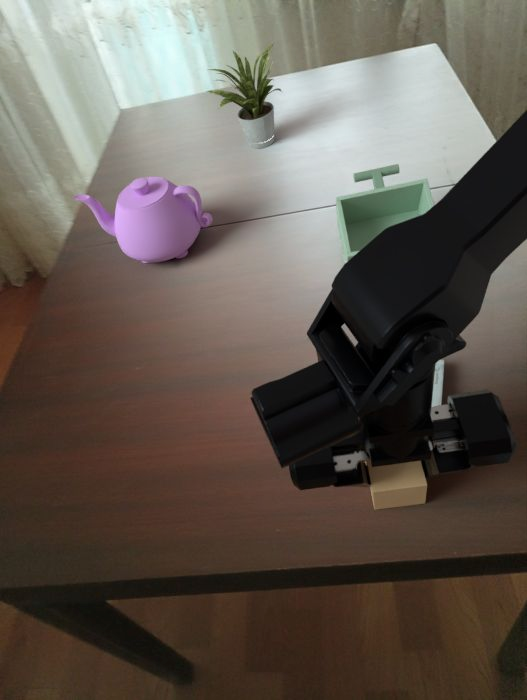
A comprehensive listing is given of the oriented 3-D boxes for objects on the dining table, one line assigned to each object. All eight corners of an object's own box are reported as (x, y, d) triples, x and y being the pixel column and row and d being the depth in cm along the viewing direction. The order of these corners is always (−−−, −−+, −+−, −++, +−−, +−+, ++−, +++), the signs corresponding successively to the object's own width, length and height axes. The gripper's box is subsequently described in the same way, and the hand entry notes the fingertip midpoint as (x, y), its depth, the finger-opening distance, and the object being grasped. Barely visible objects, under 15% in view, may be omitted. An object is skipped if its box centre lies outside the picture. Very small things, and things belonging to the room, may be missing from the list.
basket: (333, 203, 74) (331, 174, 67) (415, 186, 72) (421, 155, 66) (347, 279, 70) (347, 257, 64) (434, 263, 69) (443, 238, 62)
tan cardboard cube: (413, 457, 52) (414, 436, 49) (425, 503, 49) (427, 485, 46) (365, 464, 53) (363, 444, 49) (374, 510, 50) (372, 492, 46)
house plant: (257, 115, 106) (238, 31, 94) (311, 123, 99) (298, 33, 87) (216, 151, 100) (190, 66, 88) (270, 162, 93) (251, 72, 81)
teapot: (98, 281, 82) (59, 222, 73) (116, 227, 91) (84, 168, 81) (214, 265, 78) (189, 200, 69) (222, 210, 87) (201, 146, 78)
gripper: (484, 298, 42) (465, 397, 54) (268, 336, 44) (296, 423, 56) (536, 409, 35) (501, 496, 47) (276, 447, 37) (306, 520, 49)
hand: (394, 478), depth 50 cm, fingers closed on tan cardboard cube, 5 cm apart
